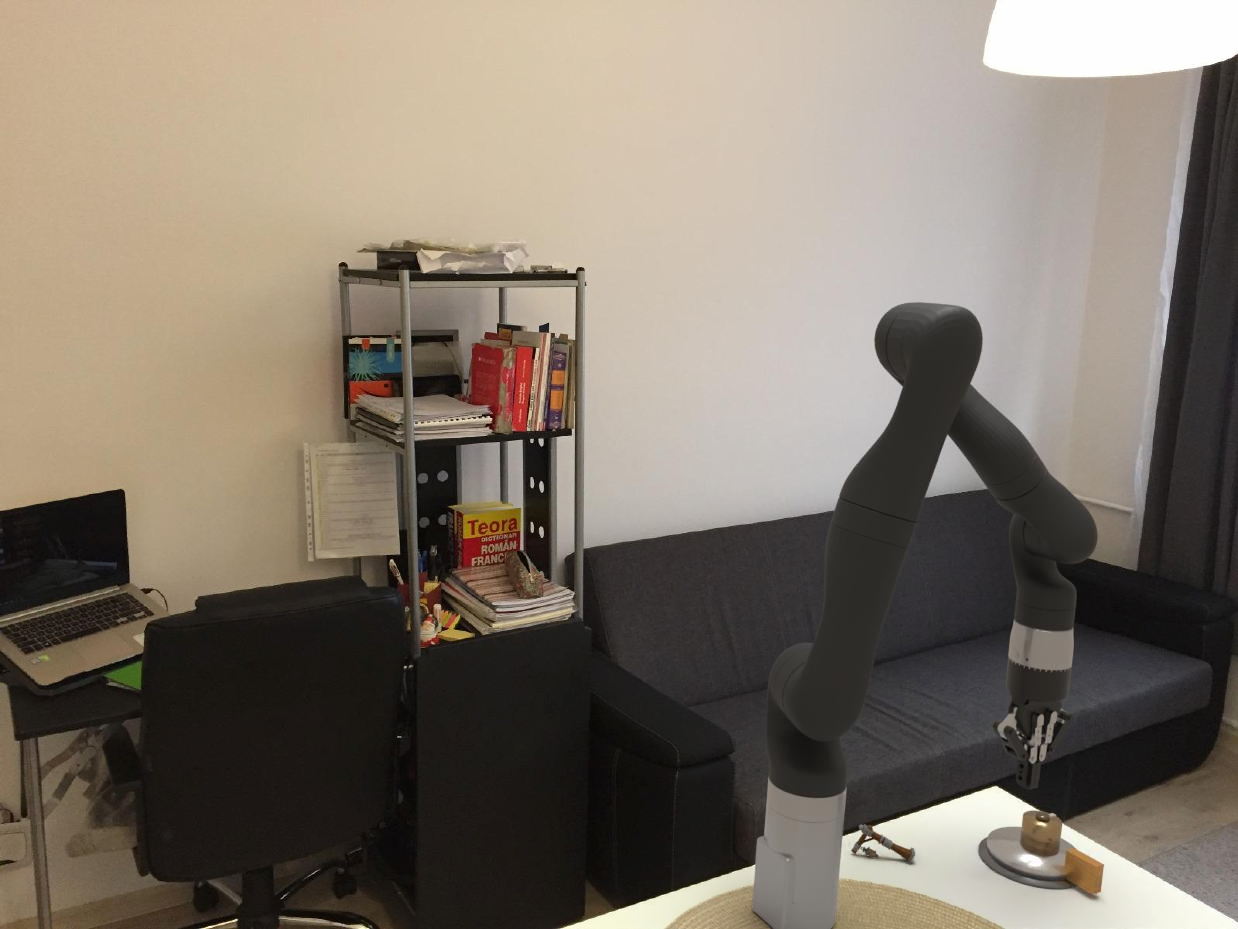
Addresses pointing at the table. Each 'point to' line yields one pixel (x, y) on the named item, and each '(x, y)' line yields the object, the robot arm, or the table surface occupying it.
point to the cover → (1041, 833)
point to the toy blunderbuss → (868, 831)
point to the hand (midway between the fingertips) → (1026, 786)
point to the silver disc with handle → (1045, 860)
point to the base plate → (1019, 877)
